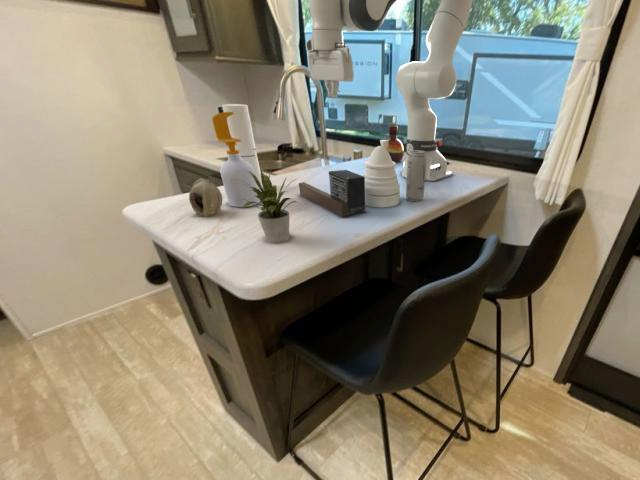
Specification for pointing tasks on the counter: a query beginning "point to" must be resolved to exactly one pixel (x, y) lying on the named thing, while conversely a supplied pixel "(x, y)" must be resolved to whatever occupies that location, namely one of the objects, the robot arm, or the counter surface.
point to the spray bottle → (234, 167)
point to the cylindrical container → (243, 135)
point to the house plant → (271, 209)
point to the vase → (394, 145)
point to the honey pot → (381, 179)
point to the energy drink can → (416, 175)
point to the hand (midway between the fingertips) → (333, 97)
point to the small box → (348, 189)
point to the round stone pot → (205, 198)
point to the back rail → (324, 199)
